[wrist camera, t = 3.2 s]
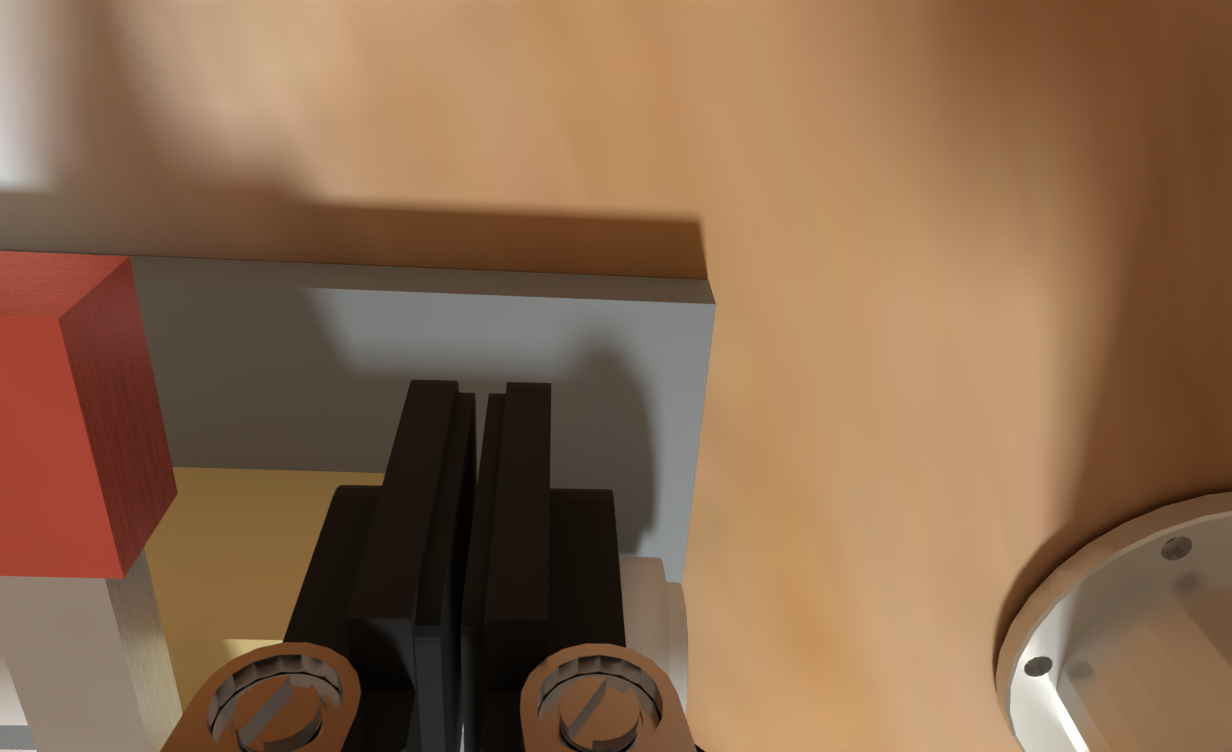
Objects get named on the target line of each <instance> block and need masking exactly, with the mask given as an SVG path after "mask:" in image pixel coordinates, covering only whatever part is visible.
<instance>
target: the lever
mask: <svg viewBox="0 0 1232 752" xmlns="http://www.w3.org/2000/svg"><path fill="white" fill-rule="evenodd" d="M177 494H178V492H177V487H176V482H175V477H174V472H173V467H172V463H171V458H170V453H169V448H168V443H167V438H166V433H165V428H164V423H163V419H162V414H161V409H160V404H159V399H158V394H157V389H156V384H155V379H154V375H153V370H152V365H151V360H150V355H149V350H148V345H147V340H146V335H145V331H144V326H143V321H142V316H141V311H140V306H139V301H138V296H137V291H136V286H135V282H134V277H133V272H132V267H131V262H130V257H129V256H108V255H85V254H61V253H37V252H13V251H0V647H1V650H2V652H3V655H4V658H5V661H6V664H7V667H8V670H9V672H10V675H11V678H12V681H13V684H14V687H15V690H16V692H17V695H18V698H19V701H20V704H21V707H22V709H23V712H24V715H25V718H26V721H27V724H28V727H29V729H30V732H31V735H32V738H33V741H34V744H35V747H36V749H37V752H160V751H161V749H162V747H163V746H164V744H165V743H166V741H167V739H168V738H169V736H170V734H171V733H172V731H173V730H174V728H175V726H176V725H177V723H178V722H179V720H180V718H181V717H182V715H183V712H182V708H181V704H180V699H179V695H178V691H177V687H176V682H175V678H174V674H173V670H172V665H171V661H170V657H169V652H168V648H167V644H166V640H165V635H164V631H163V627H162V622H161V618H160V614H159V610H158V605H157V601H156V597H155V593H154V588H153V584H152V580H151V575H150V571H149V567H148V563H147V558H146V554H145V550H144V546H145V544H146V543H147V541H148V540H149V538H150V537H151V535H152V533H153V532H154V530H155V529H156V527H157V526H158V524H159V522H160V521H161V519H162V518H163V516H164V515H165V513H166V511H167V510H168V508H169V507H170V505H171V504H172V502H173V500H174V499H175V497H176V496H177Z"/></svg>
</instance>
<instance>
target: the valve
mask: <svg viewBox="0 0 1232 752" xmlns="http://www.w3.org/2000/svg"><path fill="white" fill-rule="evenodd" d="M0 251H12V250H0ZM13 252H36V251H13ZM37 253H60V252H37ZM61 254H84V253H61ZM85 255H108V254H85ZM108 256H129V257H130V262H131V267H132V272H133V277H134V282H135V286H136V291H137V296H138V301H139V306H140V311H141V316H142V321H143V326H144V331H145V335H146V340H147V345H148V350H149V355H150V360H151V365H152V370H153V375H154V379H155V384H156V389H157V394H158V399H159V404H160V409H161V414H162V419H163V423H164V428H165V433H166V438H167V443H168V448H169V453H170V458H171V463H172V467H173V472H174V477H175V482H176V487H177V492H178V494H177V496H176V497H175V499H174V500H173V502H172V504H171V505H170V507H169V508H168V510H167V511H166V513H165V515H164V516H163V518H162V519H161V521H160V522H159V524H158V526H157V527H156V529H155V530H154V532H153V533H152V535H151V537H150V538H149V540H148V541H147V543H146V544H145V546H144V550H145V554H146V558H147V563H148V567H149V571H150V575H151V580H152V584H153V588H154V593H155V597H156V601H157V605H158V610H159V614H160V618H161V622H162V627H163V631H164V635H165V640H166V644H167V648H168V652H169V657H170V661H171V665H172V670H173V674H174V678H175V682H176V687H177V691H178V695H179V699H180V704H181V708H182V712H183V714H184V712H185V710H186V709H187V707H188V706H189V704H190V702H191V701H192V699H193V697H194V696H195V694H196V693H197V692H198V690H199V689H200V688H201V687H202V686H203V684H204V683H205V682H206V681H207V680H208V678H209V677H210V676H211V675H212V674H213V673H215V672H216V671H217V670H219V669H220V668H221V667H223V666H224V665H225V664H227V663H228V662H230V661H231V660H232V659H234V658H236V657H239V656H241V655H243V654H245V653H248V652H250V651H252V650H254V649H257V648H260V647H265V646H269V645H274V644H278V643H282V642H283V639H284V636H285V633H286V631H287V628H288V625H289V622H290V619H291V616H292V613H293V610H294V607H295V604H296V602H297V599H298V596H299V593H300V590H301V587H302V584H303V581H304V578H305V575H306V573H307V570H308V567H309V564H310V561H311V558H312V555H313V552H314V549H315V546H316V544H317V541H318V538H319V535H320V532H321V529H322V526H323V523H324V520H325V517H326V515H327V512H328V509H329V506H330V503H331V500H332V497H333V495H334V493H335V490H336V488H337V487H338V486H340V485H379V486H382V483H383V480H384V476H385V473H386V469H387V465H388V462H389V458H390V454H391V451H392V447H393V443H394V440H395V436H396V432H397V429H398V425H399V422H400V418H401V414H402V411H403V407H404V403H405V400H406V396H407V392H408V389H409V385H410V382H411V380H413V379H414V380H454V381H458V384H459V392H464V393H475V396H476V438H477V482H478V474H479V466H480V458H481V450H482V442H483V435H484V427H485V419H486V411H487V403H488V396H489V393H505V394H506V386H507V382H535V383H551V445H550V488H562V489H612V491H613V497H614V507H615V519H616V531H617V542H618V554H619V566H620V578H621V590H622V602H623V614H624V626H625V638H626V648H629V649H632V650H634V651H636V652H638V653H640V654H642V655H644V656H646V657H647V658H649V659H651V660H653V661H654V662H655V663H656V664H657V665H658V666H659V667H660V668H661V669H662V670H663V671H664V672H665V673H666V674H667V675H668V676H669V678H670V680H671V682H672V684H673V685H674V687H675V689H676V691H677V693H678V696H679V699H680V702H681V705H682V708H683V711H684V714H685V712H686V702H687V686H688V633H687V617H686V607H685V599H684V594H683V589H682V579H683V571H684V563H685V554H686V546H687V538H688V530H689V521H690V513H691V505H692V497H693V488H694V480H695V472H696V464H697V455H698V447H699V439H700V431H701V422H702V414H703V406H704V398H705V389H706V381H707V373H708V364H709V356H710V348H711V340H712V331H713V323H714V315H715V307H716V303H715V300H714V297H713V294H712V290H711V287H710V284H709V280H704V279H680V278H656V277H632V276H608V275H584V274H561V273H537V272H513V271H489V270H465V269H441V268H418V267H394V266H370V265H346V264H322V263H298V262H275V261H251V260H227V259H203V258H179V257H155V256H132V255H108ZM0 749H23V750H37V749H36V747H35V744H34V741H33V738H32V735H31V732H30V729H29V727H28V724H27V721H26V718H25V715H24V712H23V709H22V707H21V704H20V701H19V698H18V695H17V692H16V690H15V687H14V684H13V681H12V678H11V675H10V672H9V670H8V667H7V664H6V661H5V658H4V655H3V652H2V650H1V647H0ZM460 752H464V732H463V730H462V739H461V748H460Z"/></svg>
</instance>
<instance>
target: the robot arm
mask: <svg viewBox="0 0 1232 752" xmlns="http://www.w3.org/2000/svg"><path fill="white" fill-rule="evenodd" d="M550 445H551V383H535V382H507V386H506V394H505V393H489V396H488V403H487V411H486V419H485V427H484V435H483V442H482V450H481V458H480V466H479V474H478V482H477V438H476V396H475V393H464V392H459V384H458V381H454V380H414V379H413V380H411V382H410V385H409V389H408V392H407V396H406V400H405V403H404V407H403V411H402V414H401V418H400V422H399V425H398V429H397V432H396V436H395V440H394V443H393V447H392V451H391V454H390V458H389V462H388V465H387V469H386V473H385V476H384V480H383V483H382V486H379V485H340V486H338V487H337V488H336V490H335V493H334V495H333V497H332V500H331V503H330V506H329V509H328V512H327V515H326V517H325V520H324V523H323V526H322V529H321V532H320V535H319V538H318V541H317V544H316V546H315V549H314V552H313V555H312V558H311V561H310V564H309V567H308V570H307V573H306V575H305V578H304V581H303V584H302V587H301V590H300V593H299V596H298V599H297V602H296V604H295V607H294V610H293V613H292V616H291V619H290V622H289V625H288V628H287V631H286V633H285V636H284V639H283V642H282V643H278V644H274V645H269V646H265V647H260V648H257V649H254V650H252V651H250V652H248V653H245V654H243V655H241V656H239V657H236V658H234V659H232V660H231V661H230V662H228V663H227V664H225V665H224V666H223V667H221V668H220V669H219V670H217V671H216V672H215V673H213V674H212V675H211V676H210V677H209V678H208V680H207V681H206V682H205V683H204V684H203V686H202V687H201V688H200V689H199V690H198V692H197V693H196V694H195V696H194V697H193V699H192V701H191V702H190V704H189V706H188V707H187V709H186V710H185V712H184V714H183V715H182V717H181V718H180V720H179V722H178V723H177V725H176V726H175V728H174V730H173V731H172V733H171V734H170V736H169V738H168V739H167V741H166V743H165V744H164V746H163V747H162V749H161V751H160V752H460V748H461V739H462V730H463V732H464V752H705V751H703V750H702V749H701V748H699V747H698V746H697V745H695V744H694V742H693V739H692V735H691V732H690V729H689V726H688V723H687V720H686V717H685V714H684V711H683V708H682V705H681V702H680V699H679V696H678V693H677V691H676V689H675V687H674V685H673V684H672V682H671V680H670V678H669V676H668V675H667V674H666V673H665V672H664V671H663V670H662V669H661V668H660V667H659V666H658V665H657V664H656V663H655V662H654V661H653V660H651V659H649V658H647V657H646V656H644V655H642V654H640V653H638V652H636V651H634V650H632V649H629V648H626V638H625V626H624V614H623V602H622V590H621V578H620V566H619V554H618V542H617V531H616V519H615V507H614V497H613V491H612V489H562V488H550ZM996 687H997V696H998V703H999V706H1000V708H1001V710H1002V713H1003V715H1004V717H1005V720H1006V722H1007V724H1008V727H1009V729H1010V731H1011V733H1012V735H1013V736H1014V738H1015V740H1016V741H1017V743H1018V745H1019V746H1020V748H1021V750H1022V751H1023V752H1232V492H1225V493H1217V494H1209V495H1204V496H1201V497H1197V498H1193V499H1189V500H1186V501H1182V502H1178V503H1175V504H1171V505H1167V506H1164V507H1161V508H1159V509H1156V510H1154V511H1152V512H1149V513H1147V514H1144V515H1142V516H1140V517H1137V518H1135V519H1132V520H1130V521H1127V522H1125V523H1123V524H1121V525H1120V526H1118V527H1116V528H1114V529H1113V530H1111V531H1109V532H1107V533H1106V534H1104V535H1102V536H1101V537H1099V538H1097V539H1095V540H1094V541H1092V542H1090V543H1088V544H1087V545H1086V546H1084V547H1083V548H1082V549H1081V550H1079V551H1078V552H1077V553H1075V554H1074V555H1073V556H1072V557H1070V558H1069V559H1068V560H1066V561H1065V562H1064V563H1063V564H1061V565H1060V566H1059V567H1057V568H1056V569H1055V570H1054V571H1053V572H1052V573H1051V574H1050V576H1049V577H1048V578H1047V579H1046V580H1045V581H1044V582H1043V583H1042V584H1041V585H1040V586H1039V587H1038V588H1037V589H1036V590H1035V591H1034V592H1033V593H1032V594H1031V595H1030V597H1029V598H1028V600H1027V601H1026V603H1025V604H1024V606H1023V607H1022V609H1021V610H1020V612H1019V613H1018V615H1017V616H1016V618H1015V619H1014V621H1013V622H1012V624H1011V626H1010V628H1009V631H1008V633H1007V635H1006V638H1005V640H1004V643H1003V645H1002V648H1001V650H1000V653H999V660H998V666H997V672H996Z"/></svg>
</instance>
